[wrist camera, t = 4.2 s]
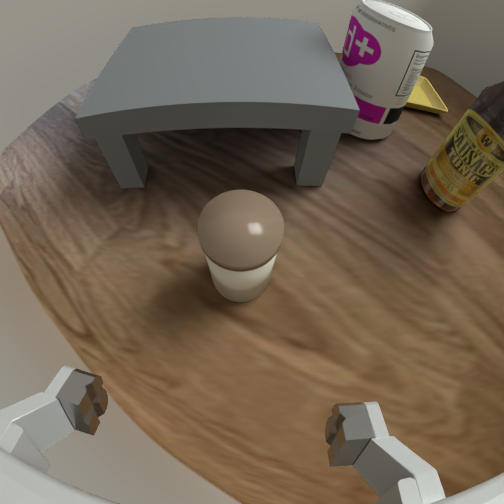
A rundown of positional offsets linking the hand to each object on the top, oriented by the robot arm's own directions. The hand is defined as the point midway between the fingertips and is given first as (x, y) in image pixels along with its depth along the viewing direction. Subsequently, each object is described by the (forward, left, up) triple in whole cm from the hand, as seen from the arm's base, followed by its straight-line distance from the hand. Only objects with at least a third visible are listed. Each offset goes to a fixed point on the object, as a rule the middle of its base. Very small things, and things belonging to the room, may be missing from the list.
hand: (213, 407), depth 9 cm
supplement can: (-15, -28, -12) cm, 34 cm away
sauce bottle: (-23, -18, -12) cm, 32 cm away
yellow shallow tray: (-26, -36, -13) cm, 46 cm away
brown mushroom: (-1, -9, -12) cm, 15 cm away
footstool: (+1, -25, -12) cm, 28 cm away
